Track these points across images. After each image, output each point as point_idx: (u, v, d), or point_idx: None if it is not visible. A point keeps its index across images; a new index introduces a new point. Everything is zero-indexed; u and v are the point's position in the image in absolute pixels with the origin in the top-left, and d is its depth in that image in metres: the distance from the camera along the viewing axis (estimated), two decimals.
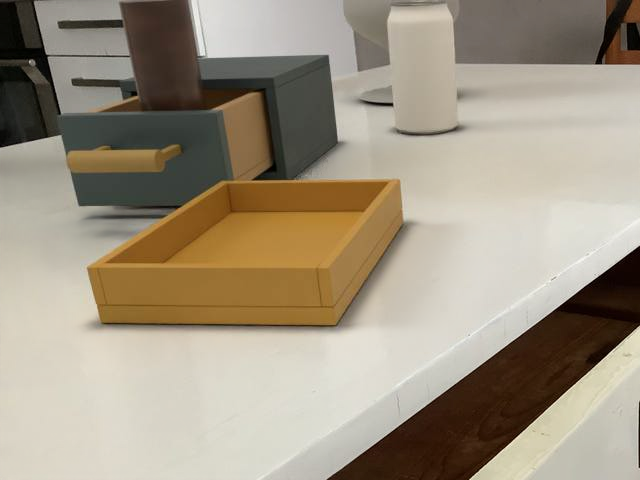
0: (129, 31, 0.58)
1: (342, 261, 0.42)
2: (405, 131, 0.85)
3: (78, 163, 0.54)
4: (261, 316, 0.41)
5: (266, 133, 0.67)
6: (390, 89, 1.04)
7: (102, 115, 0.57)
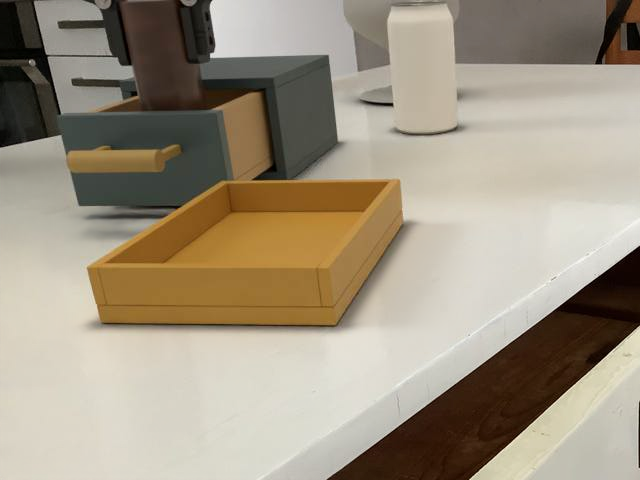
0: (130, 31, 0.58)
1: (342, 261, 0.42)
2: (405, 131, 0.85)
3: (78, 163, 0.54)
4: (261, 316, 0.41)
5: (266, 133, 0.67)
6: (390, 89, 1.04)
7: (102, 115, 0.57)
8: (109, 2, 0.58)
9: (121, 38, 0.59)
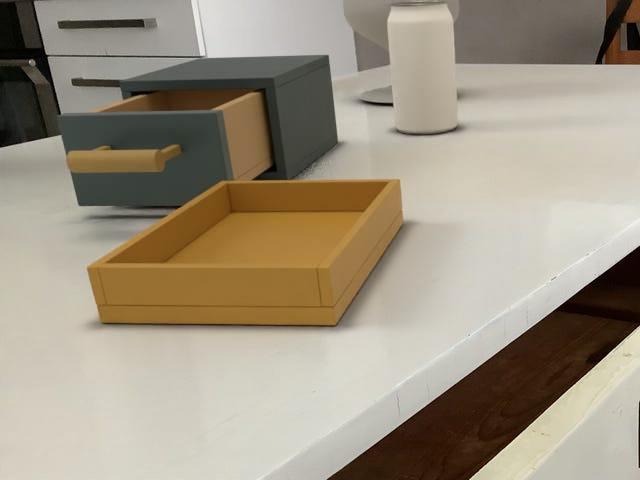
0: None
1: (342, 261, 0.42)
2: (405, 131, 0.85)
3: (78, 163, 0.54)
4: (261, 316, 0.41)
5: (266, 133, 0.67)
6: (390, 89, 1.04)
7: (102, 115, 0.57)
8: None
9: None
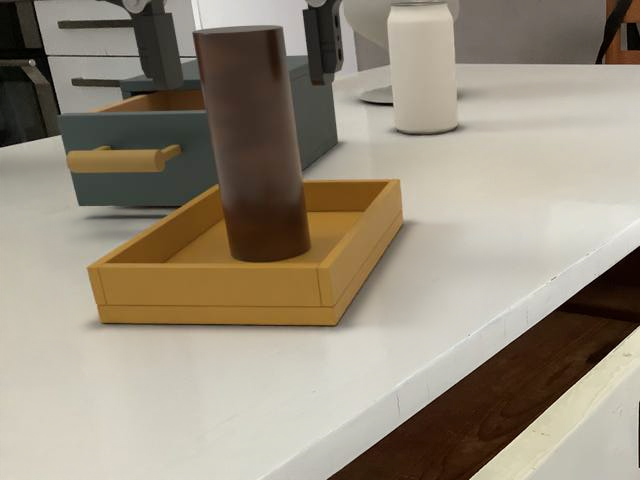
0: (207, 72, 0.43)
1: (342, 261, 0.42)
2: (405, 131, 0.85)
3: (78, 163, 0.54)
4: (261, 316, 0.41)
5: None
6: (390, 89, 1.04)
7: (102, 115, 0.57)
8: (141, 7, 0.43)
9: (158, 53, 0.44)
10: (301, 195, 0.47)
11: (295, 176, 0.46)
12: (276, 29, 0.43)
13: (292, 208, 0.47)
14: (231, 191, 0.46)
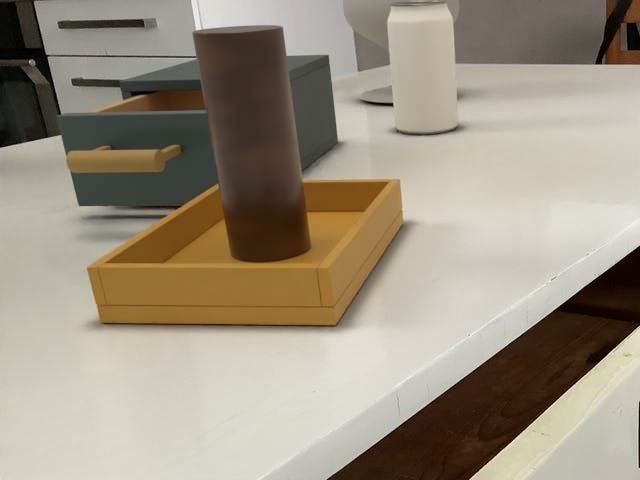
0: (207, 72, 0.43)
1: (342, 261, 0.42)
2: (405, 131, 0.85)
3: (78, 163, 0.54)
4: (261, 316, 0.41)
5: None
6: (390, 89, 1.04)
7: (102, 115, 0.57)
8: None
9: None
10: (301, 195, 0.47)
11: (295, 176, 0.46)
12: (276, 29, 0.43)
13: (292, 208, 0.47)
14: (231, 191, 0.46)
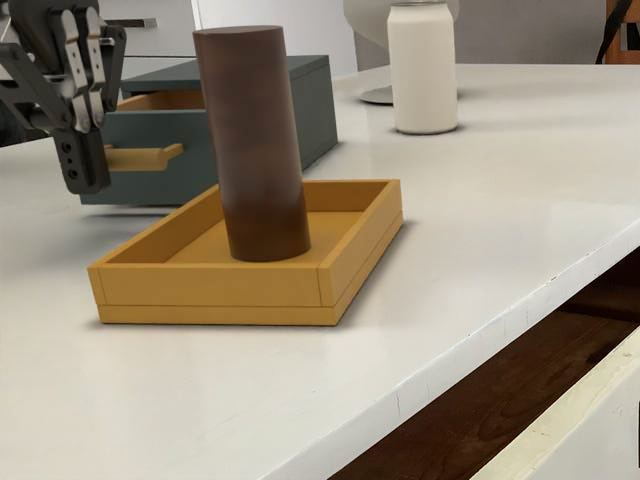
0: (207, 72, 0.43)
1: (342, 261, 0.42)
2: (405, 131, 0.85)
3: None
4: (261, 316, 0.41)
5: None
6: (390, 89, 1.04)
7: (105, 114, 0.57)
8: (89, 121, 0.51)
9: (99, 162, 0.52)
10: (301, 195, 0.47)
11: (295, 176, 0.46)
12: (276, 29, 0.43)
13: (292, 208, 0.47)
14: (231, 191, 0.46)
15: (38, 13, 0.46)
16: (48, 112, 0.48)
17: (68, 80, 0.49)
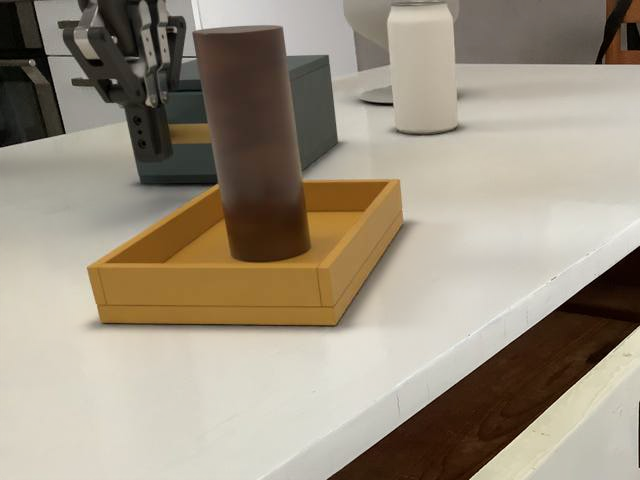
0: (207, 72, 0.43)
1: (342, 261, 0.42)
2: (405, 131, 0.85)
3: None
4: (261, 316, 0.41)
5: None
6: (390, 89, 1.04)
7: None
8: (157, 97, 0.59)
9: (164, 134, 0.60)
10: (301, 195, 0.47)
11: (295, 176, 0.46)
12: (276, 29, 0.43)
13: (292, 208, 0.47)
14: (231, 191, 0.46)
15: (119, 2, 0.54)
16: (125, 87, 0.55)
17: (142, 61, 0.57)
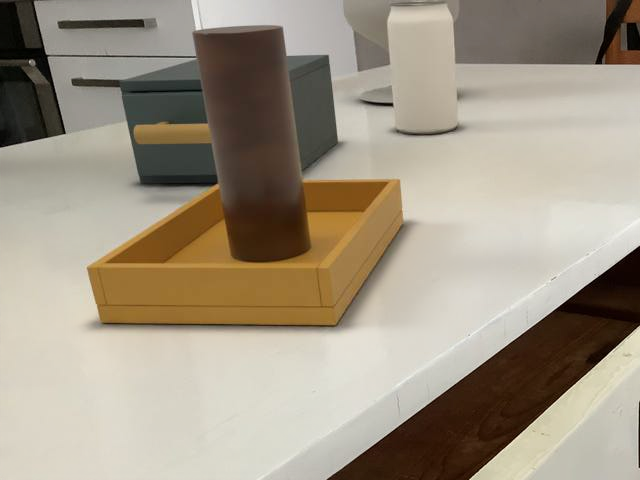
0: (207, 72, 0.43)
1: (342, 261, 0.42)
2: (405, 131, 0.85)
3: (144, 135, 0.62)
4: (261, 316, 0.41)
5: None
6: (390, 89, 1.04)
7: (162, 94, 0.65)
8: None
9: None
10: (301, 195, 0.47)
11: (295, 176, 0.46)
12: (276, 29, 0.43)
13: (292, 208, 0.47)
14: (231, 191, 0.46)
15: None
16: None
17: None
